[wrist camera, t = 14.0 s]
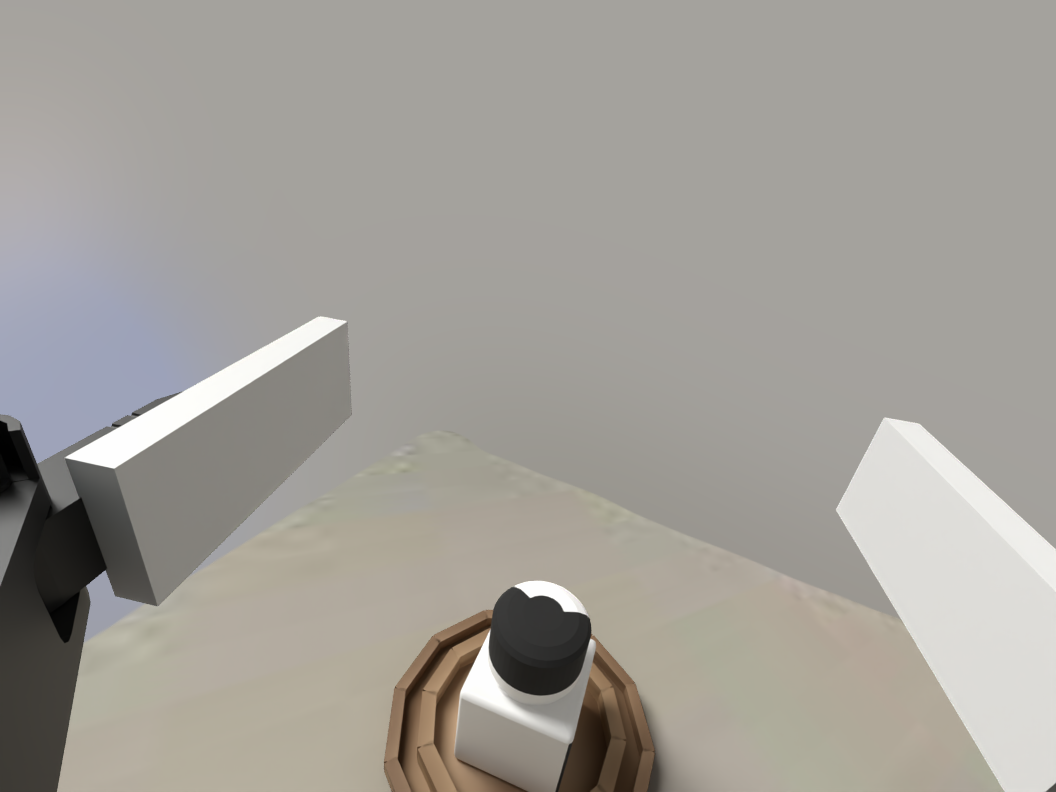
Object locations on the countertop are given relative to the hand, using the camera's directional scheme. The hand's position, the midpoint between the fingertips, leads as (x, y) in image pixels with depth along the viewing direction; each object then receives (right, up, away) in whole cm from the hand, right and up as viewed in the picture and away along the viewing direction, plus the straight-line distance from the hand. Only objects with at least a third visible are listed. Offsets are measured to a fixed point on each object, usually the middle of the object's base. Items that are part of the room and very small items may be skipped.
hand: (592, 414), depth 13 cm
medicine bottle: (-2, -23, +23) cm, 33 cm away
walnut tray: (-2, -24, +23) cm, 33 cm away
